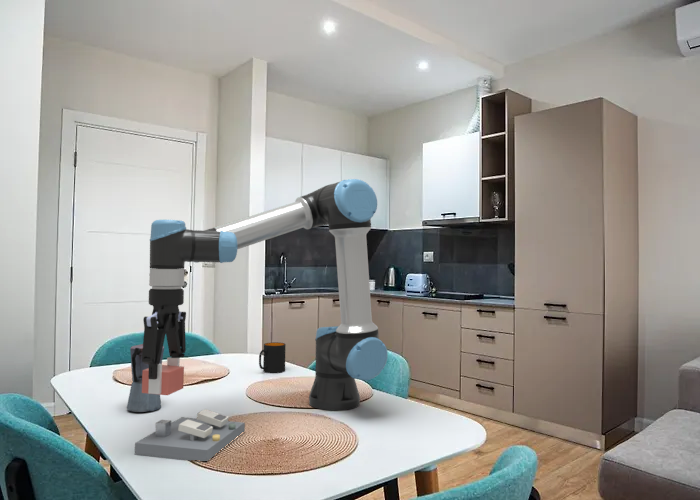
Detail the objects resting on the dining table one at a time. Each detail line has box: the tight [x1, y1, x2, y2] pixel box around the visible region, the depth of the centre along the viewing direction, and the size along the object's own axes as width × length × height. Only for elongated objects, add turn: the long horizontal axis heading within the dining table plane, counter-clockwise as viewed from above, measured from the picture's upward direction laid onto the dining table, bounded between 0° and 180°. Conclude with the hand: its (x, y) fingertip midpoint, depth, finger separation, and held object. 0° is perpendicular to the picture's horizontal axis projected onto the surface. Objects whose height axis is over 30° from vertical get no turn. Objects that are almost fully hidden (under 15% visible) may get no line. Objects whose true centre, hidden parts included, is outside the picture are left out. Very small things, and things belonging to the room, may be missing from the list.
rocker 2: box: [196, 408, 229, 427], centre depth 122 cm, size 6×4×2 cm, turn 78°
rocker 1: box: [178, 420, 213, 438], centre depth 114 cm, size 6×4×2 cm, turn 78°
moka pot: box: [126, 343, 165, 413], centre depth 144 cm, size 10×15×20 cm, turn 2°
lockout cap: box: [142, 364, 185, 396], centre depth 116 cm, size 6×6×5 cm
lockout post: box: [154, 419, 172, 437], centre depth 116 cm, size 2×2×3 cm
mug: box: [258, 342, 286, 374], centre depth 195 cm, size 8×12×10 cm
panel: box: [134, 416, 246, 462], centre depth 118 cm, size 17×19×4 cm
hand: (164, 389), depth 116 cm, fingers closed on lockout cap, 6 cm apart
